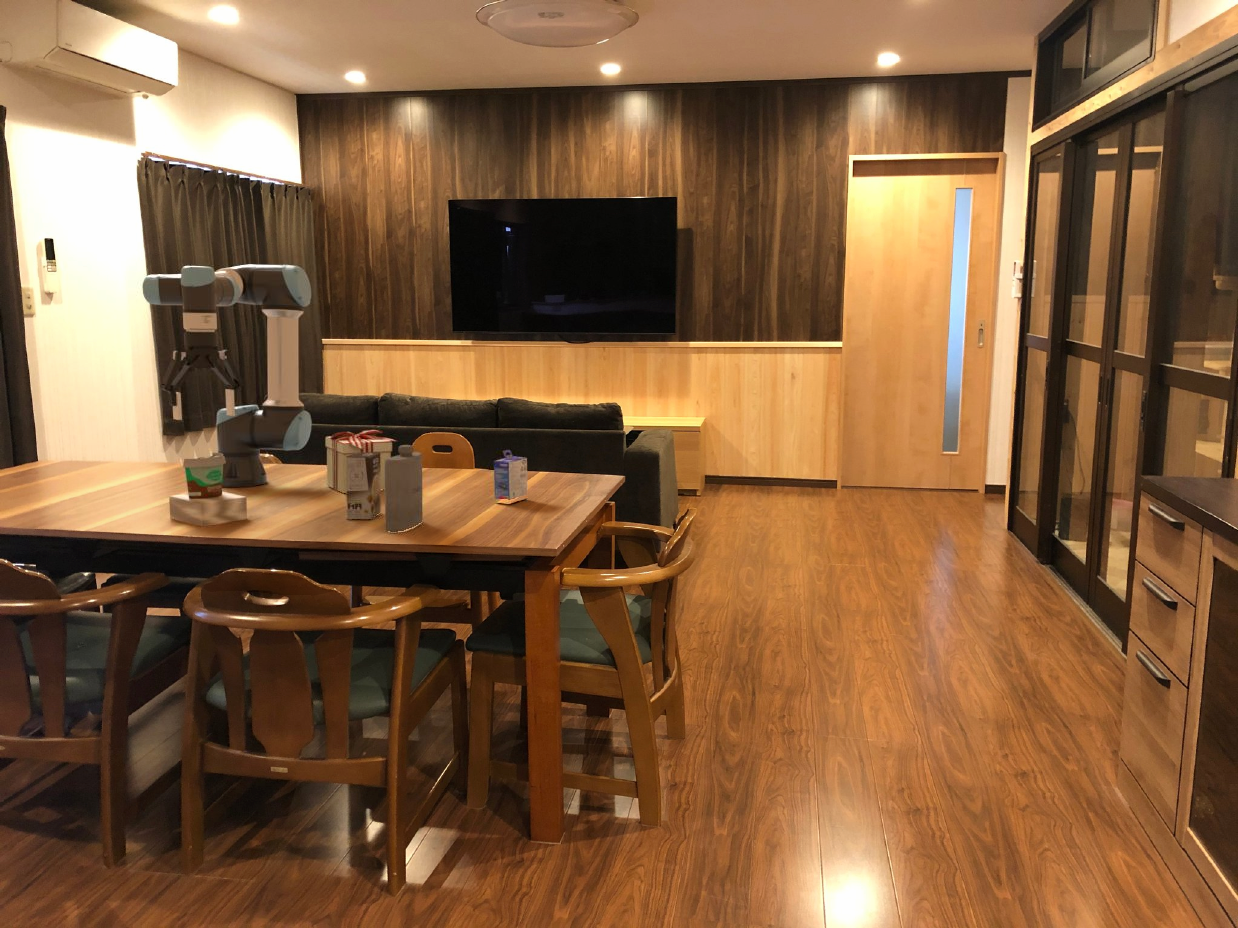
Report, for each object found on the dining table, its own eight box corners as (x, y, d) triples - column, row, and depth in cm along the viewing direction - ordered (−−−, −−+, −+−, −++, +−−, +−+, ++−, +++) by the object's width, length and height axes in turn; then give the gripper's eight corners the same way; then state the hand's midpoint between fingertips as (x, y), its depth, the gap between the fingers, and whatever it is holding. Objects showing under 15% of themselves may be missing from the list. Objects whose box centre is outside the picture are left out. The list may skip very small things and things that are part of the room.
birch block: (215, 512, 245) (214, 489, 244) (247, 520, 237) (246, 496, 236) (170, 520, 235) (169, 496, 234) (202, 528, 227) (201, 503, 226)
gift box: (350, 496, 268) (349, 436, 266) (322, 487, 282) (320, 429, 280) (404, 490, 280) (403, 432, 277) (374, 481, 293) (374, 426, 291)
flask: (405, 534, 224) (404, 450, 221) (382, 532, 225) (381, 449, 222) (428, 521, 239) (428, 442, 236) (406, 520, 240) (405, 441, 237)
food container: (207, 500, 229) (205, 459, 227) (185, 499, 230) (182, 458, 229) (237, 492, 241) (235, 453, 239) (216, 491, 242) (213, 452, 241)
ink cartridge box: (511, 497, 272) (511, 447, 270) (528, 499, 270) (528, 449, 268) (492, 503, 264) (493, 451, 261) (509, 505, 261) (510, 453, 259)
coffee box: (371, 520, 238) (370, 457, 235) (346, 519, 238) (345, 456, 236) (381, 513, 247) (380, 452, 245) (357, 512, 247) (356, 451, 245)
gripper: (156, 331, 220) (161, 422, 223) (256, 331, 239) (259, 415, 242) (141, 330, 224) (146, 419, 228) (240, 330, 243) (243, 412, 247)
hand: (204, 417), depth 235 cm, fingers open, 13 cm apart
